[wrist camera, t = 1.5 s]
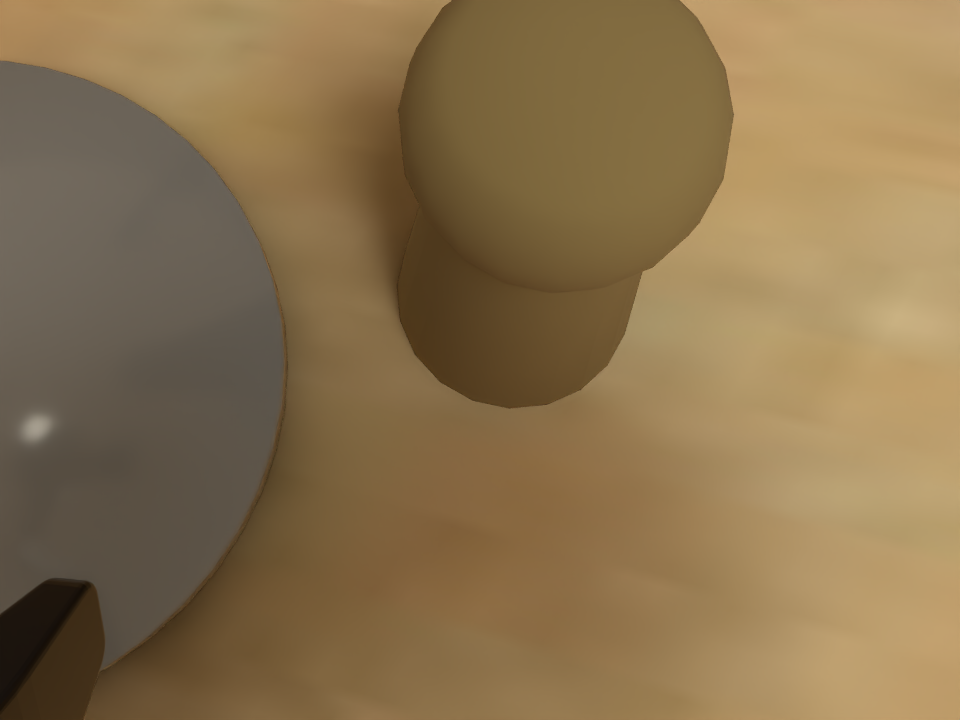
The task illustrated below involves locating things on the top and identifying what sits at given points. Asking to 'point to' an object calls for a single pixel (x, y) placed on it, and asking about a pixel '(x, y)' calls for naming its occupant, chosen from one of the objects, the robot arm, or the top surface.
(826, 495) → the top surface
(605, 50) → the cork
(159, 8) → the top surface
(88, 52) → the top surface
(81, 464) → the plate
